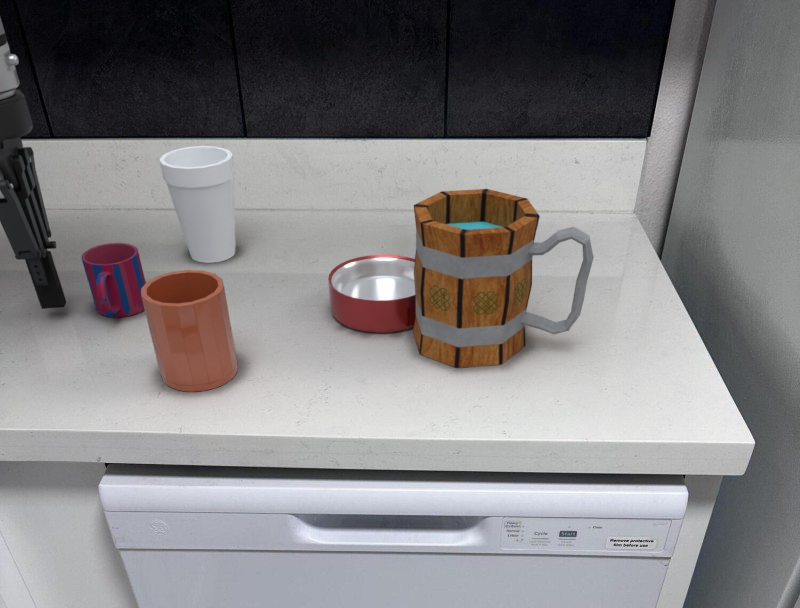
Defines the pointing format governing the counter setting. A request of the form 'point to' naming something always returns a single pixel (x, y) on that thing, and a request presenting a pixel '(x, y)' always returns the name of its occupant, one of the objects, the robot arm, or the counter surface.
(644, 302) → the counter surface
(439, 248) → the mug
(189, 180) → the foam cup
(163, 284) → the tumbler
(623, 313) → the counter surface
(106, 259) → the cup
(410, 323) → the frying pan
